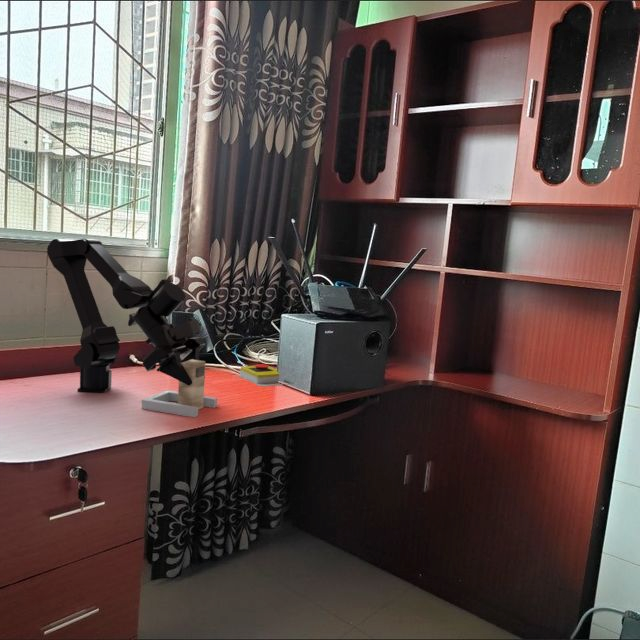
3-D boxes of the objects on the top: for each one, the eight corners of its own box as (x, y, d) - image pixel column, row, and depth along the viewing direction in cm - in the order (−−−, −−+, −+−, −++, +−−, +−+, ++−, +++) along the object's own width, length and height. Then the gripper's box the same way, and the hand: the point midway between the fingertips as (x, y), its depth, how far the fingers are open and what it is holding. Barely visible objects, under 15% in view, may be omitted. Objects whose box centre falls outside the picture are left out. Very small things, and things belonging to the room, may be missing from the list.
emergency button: (264, 360, 184) (291, 370, 172) (263, 374, 185) (290, 386, 173) (236, 361, 179) (262, 372, 167) (236, 376, 180) (261, 388, 168)
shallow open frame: (141, 408, 139) (141, 399, 139) (167, 398, 149) (167, 390, 149) (194, 417, 135) (194, 408, 135) (216, 406, 145) (217, 398, 145)
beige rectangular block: (177, 410, 139) (179, 363, 138) (190, 405, 145) (191, 359, 143) (193, 413, 138) (195, 365, 137) (205, 407, 143) (207, 361, 142)
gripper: (156, 310, 131) (200, 367, 129) (199, 303, 148) (239, 354, 147) (123, 342, 134) (166, 398, 132) (170, 332, 152) (208, 381, 150)
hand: (197, 381), depth 140 cm, fingers closed on beige rectangular block, 5 cm apart
